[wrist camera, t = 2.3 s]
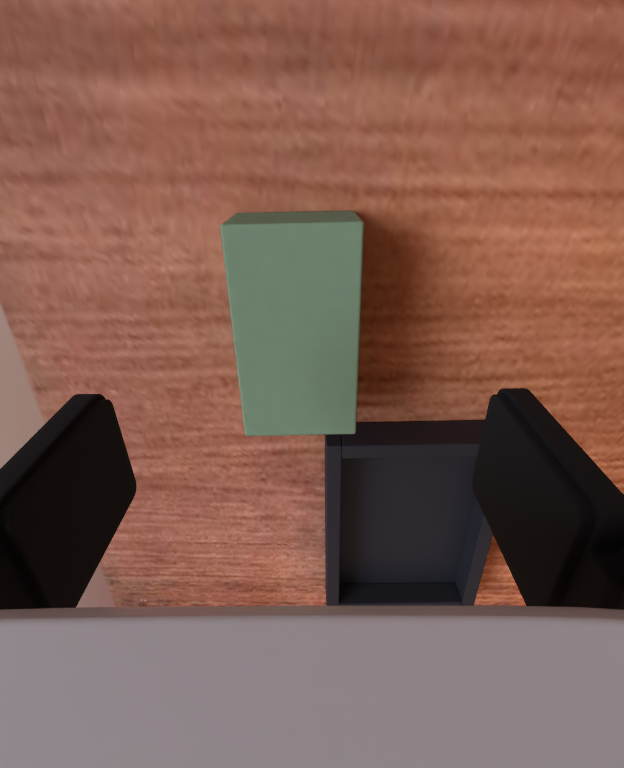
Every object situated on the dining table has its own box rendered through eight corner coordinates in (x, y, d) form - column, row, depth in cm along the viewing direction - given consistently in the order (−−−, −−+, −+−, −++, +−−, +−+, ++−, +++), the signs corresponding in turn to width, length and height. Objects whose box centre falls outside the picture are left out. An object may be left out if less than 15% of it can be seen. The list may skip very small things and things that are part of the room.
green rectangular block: (254, 397, 22) (245, 437, 19) (235, 212, 17) (219, 224, 14) (349, 395, 22) (356, 434, 19) (354, 210, 17) (364, 221, 14)
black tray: (325, 583, 29) (326, 612, 27) (324, 422, 22) (326, 446, 21) (462, 581, 29) (472, 609, 27) (501, 419, 22) (518, 442, 21)
